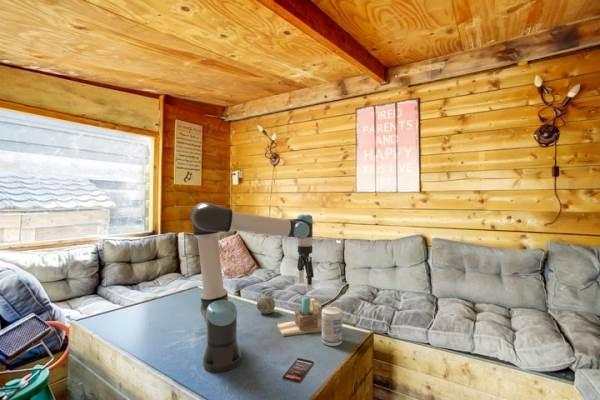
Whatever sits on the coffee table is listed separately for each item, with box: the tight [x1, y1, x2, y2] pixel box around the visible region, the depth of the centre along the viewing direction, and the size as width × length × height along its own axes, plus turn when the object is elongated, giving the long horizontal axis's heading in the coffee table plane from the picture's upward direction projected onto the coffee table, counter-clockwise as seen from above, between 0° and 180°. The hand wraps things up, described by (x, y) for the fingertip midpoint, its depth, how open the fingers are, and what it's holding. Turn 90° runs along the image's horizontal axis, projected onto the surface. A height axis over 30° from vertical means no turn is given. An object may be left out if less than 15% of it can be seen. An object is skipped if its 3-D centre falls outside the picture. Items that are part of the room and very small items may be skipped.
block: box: [294, 309, 317, 330], centre depth 155 cm, size 9×9×6 cm
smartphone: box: [281, 357, 315, 384], centre depth 117 cm, size 7×1×15 cm
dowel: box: [301, 296, 310, 316], centre depth 154 cm, size 4×4×12 cm
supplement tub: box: [321, 306, 343, 347], centre depth 139 cm, size 10×10×15 cm
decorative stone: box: [256, 295, 276, 315], centre depth 173 cm, size 10×8×10 cm
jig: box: [276, 297, 323, 338], centre depth 154 cm, size 13×20×12 cm, turn 107°
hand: (304, 286), depth 154 cm, fingers open, 13 cm apart
